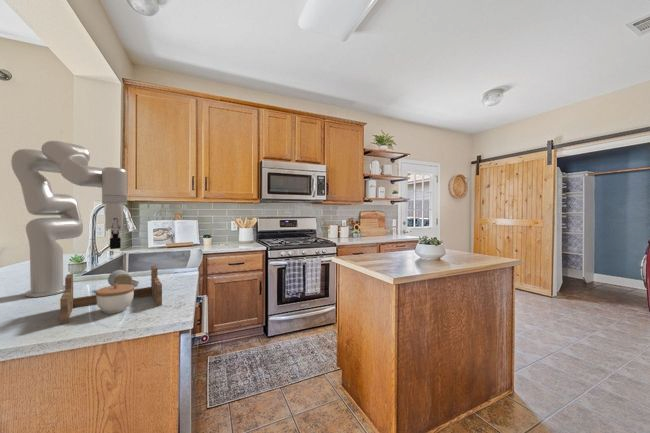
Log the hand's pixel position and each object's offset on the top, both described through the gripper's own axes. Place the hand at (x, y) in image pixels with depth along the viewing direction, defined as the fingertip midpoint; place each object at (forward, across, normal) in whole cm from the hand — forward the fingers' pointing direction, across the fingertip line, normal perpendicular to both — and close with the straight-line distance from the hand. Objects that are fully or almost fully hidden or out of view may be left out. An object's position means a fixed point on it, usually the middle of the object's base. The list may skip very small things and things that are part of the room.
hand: (115, 248), depth 100 cm
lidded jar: (+21, +9, 0) cm, 23 cm away
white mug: (+21, -22, +3) cm, 31 cm away
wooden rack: (+21, +5, 0) cm, 21 cm away
